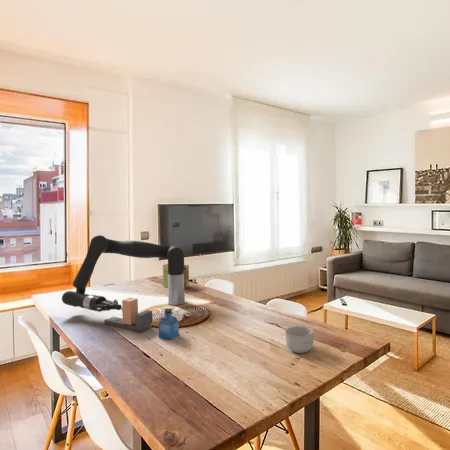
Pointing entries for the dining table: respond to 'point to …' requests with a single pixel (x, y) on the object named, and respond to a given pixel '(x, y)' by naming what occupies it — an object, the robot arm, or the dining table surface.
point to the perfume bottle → (168, 326)
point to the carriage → (129, 310)
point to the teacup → (299, 338)
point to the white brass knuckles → (173, 312)
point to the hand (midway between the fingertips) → (120, 307)
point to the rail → (141, 323)
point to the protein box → (186, 275)
